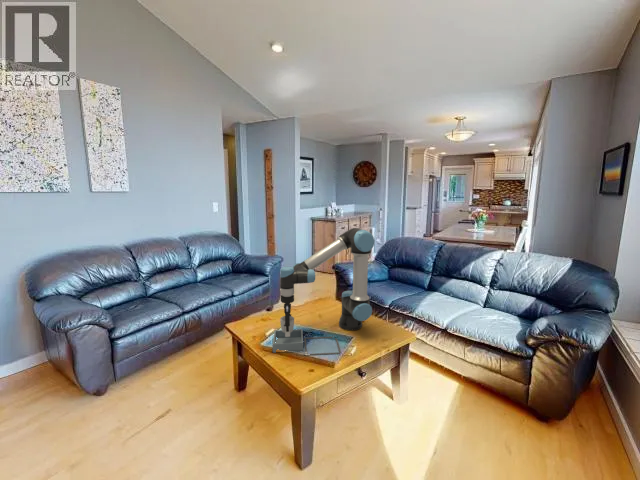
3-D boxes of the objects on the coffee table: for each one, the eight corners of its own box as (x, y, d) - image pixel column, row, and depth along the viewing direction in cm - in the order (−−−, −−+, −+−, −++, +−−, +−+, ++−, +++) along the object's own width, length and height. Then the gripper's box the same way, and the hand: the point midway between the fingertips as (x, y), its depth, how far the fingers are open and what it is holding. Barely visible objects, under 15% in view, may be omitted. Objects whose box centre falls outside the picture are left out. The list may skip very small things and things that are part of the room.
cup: (296, 336, 172) (296, 322, 171) (282, 337, 170) (282, 324, 169) (293, 327, 182) (292, 314, 181) (279, 329, 180) (279, 316, 179)
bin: (302, 337, 186) (302, 329, 185) (303, 351, 170) (303, 342, 169) (274, 338, 185) (274, 330, 184) (272, 352, 169) (272, 344, 168)
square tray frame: (337, 337, 187) (337, 333, 187) (342, 355, 167) (342, 351, 166) (302, 338, 185) (302, 335, 185) (303, 357, 165) (303, 353, 165)
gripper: (281, 288, 184) (282, 323, 187) (279, 302, 161) (280, 341, 164) (294, 288, 184) (294, 323, 188) (294, 301, 161) (294, 341, 165)
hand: (287, 331), depth 176 cm, fingers closed on cup, 11 cm apart
